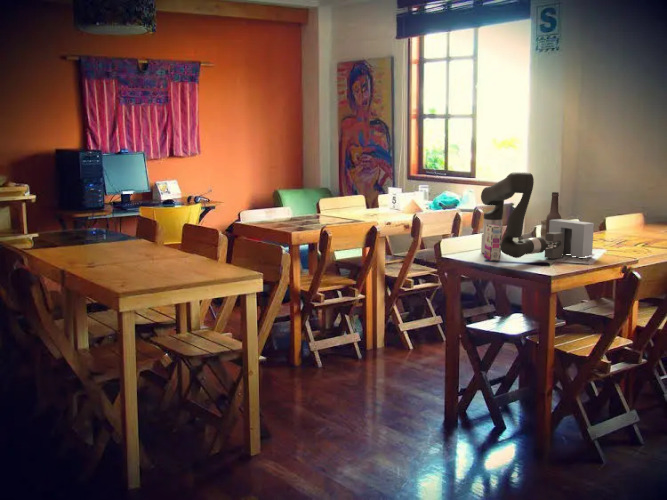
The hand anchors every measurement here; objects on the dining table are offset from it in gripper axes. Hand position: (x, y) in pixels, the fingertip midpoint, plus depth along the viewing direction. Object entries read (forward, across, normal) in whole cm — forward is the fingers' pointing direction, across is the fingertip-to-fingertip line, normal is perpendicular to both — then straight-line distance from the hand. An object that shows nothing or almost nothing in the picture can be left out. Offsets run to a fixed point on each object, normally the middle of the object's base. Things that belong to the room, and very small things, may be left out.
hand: (555, 242), depth 378 cm
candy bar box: (-27, +16, +8) cm, 33 cm away
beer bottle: (+21, +16, +7) cm, 27 cm away
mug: (+42, +30, +7) cm, 52 cm away
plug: (-1, 0, +7) cm, 7 cm away
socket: (+13, 0, +7) cm, 15 cm away
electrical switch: (+7, +22, +8) cm, 24 cm away
